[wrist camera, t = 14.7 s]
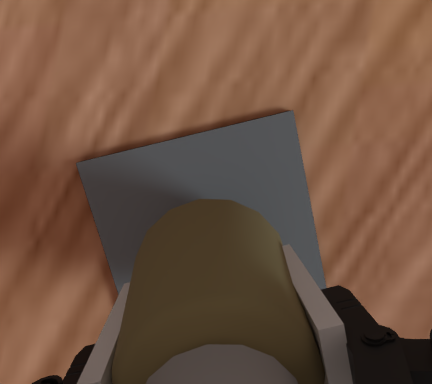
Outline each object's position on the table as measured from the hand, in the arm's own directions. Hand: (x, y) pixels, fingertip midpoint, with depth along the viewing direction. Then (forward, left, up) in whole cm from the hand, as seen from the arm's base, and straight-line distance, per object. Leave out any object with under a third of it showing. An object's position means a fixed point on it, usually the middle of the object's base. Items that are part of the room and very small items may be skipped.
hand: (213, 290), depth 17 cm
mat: (0, 0, -8) cm, 8 cm away
